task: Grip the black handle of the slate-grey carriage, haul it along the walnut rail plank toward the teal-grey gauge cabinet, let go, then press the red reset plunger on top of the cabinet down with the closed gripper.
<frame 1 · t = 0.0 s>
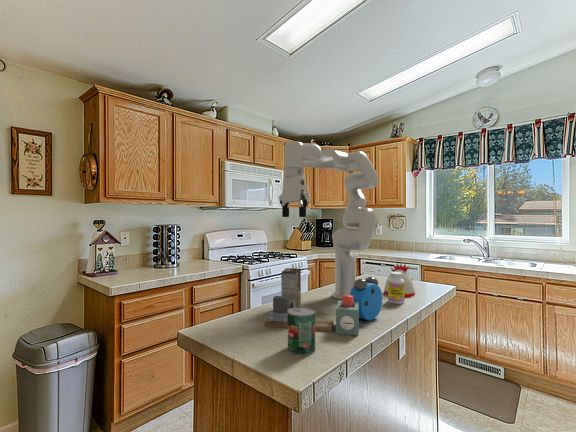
hand: (293, 217, 121), 37 cm above the countertop, tool pointing down, fingers open, 9 cm apart
reset plunger: (347, 303, 103), point 9 cm above the countertop, slide at 0.0 cm
carriage: (281, 307, 108), point 6 cm above the countertop, slide at 0.0 cm
gauge cabinet: (347, 329, 103), on the countertop
alarm clock: (366, 319, 113), on the countertop
coffee box: (291, 310, 124), on the countertop
supplement bottle: (396, 302, 134), on the countertop
rail plank: (299, 324, 107), on the countertop
canned tomato: (301, 350, 87), on the countertop
kitchen timer: (399, 294, 149), on the countertop
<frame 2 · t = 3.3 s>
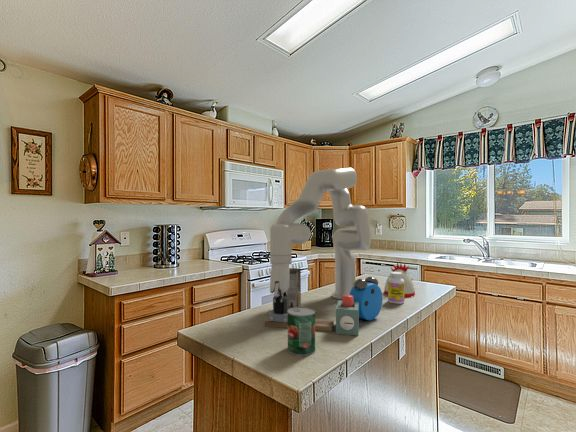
hand: (281, 310, 108), 4 cm above the countertop, tool pointing down, fingers closed on carriage, 4 cm apart
carriage: (281, 307, 108), point 6 cm above the countertop, slide at 0.0 cm, touching gripper
everything else where it was.
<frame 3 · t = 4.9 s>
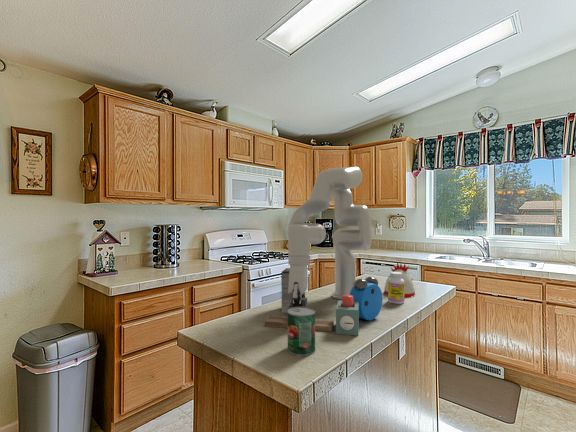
hand: (299, 312, 107), 4 cm above the countertop, tool pointing down, fingers closed on carriage, 4 cm apart
carriage: (299, 309, 107), point 6 cm above the countertop, slide at 6.5 cm, touching gripper
everything else where it was.
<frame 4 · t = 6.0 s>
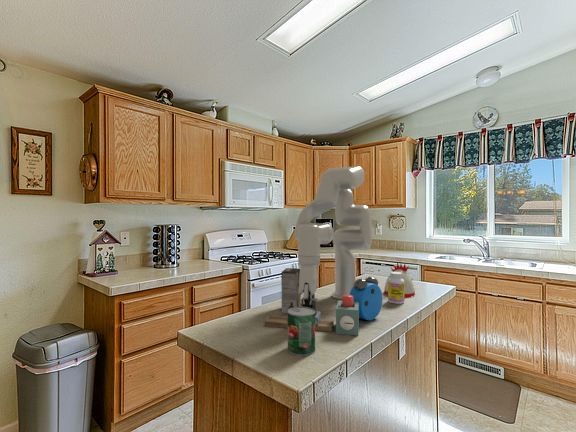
hand: (309, 313, 106), 4 cm above the countertop, tool pointing down, fingers closed on carriage, 4 cm apart
carriage: (309, 309, 106), point 6 cm above the countertop, slide at 10.0 cm, touching gripper
everything else where it was.
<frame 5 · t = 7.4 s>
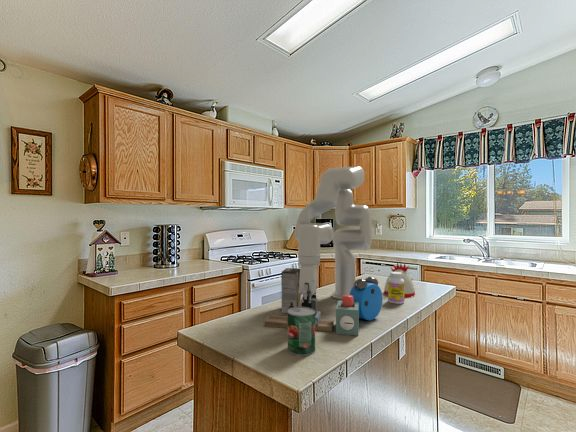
hand: (309, 310, 106), 5 cm above the countertop, tool pointing down, fingers open, 9 cm apart
carriage: (309, 309, 106), point 6 cm above the countertop, slide at 10.0 cm
everything else where it was.
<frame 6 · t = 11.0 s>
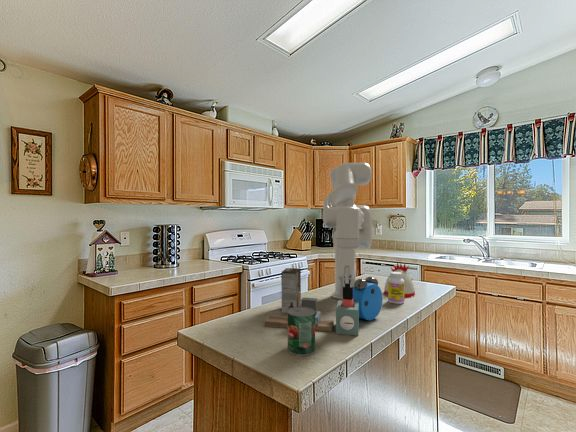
hand: (347, 298, 103), 10 cm above the countertop, tool pointing down, fingers closed
reset plunger: (347, 306, 103), point 8 cm above the countertop, slide at 0.9 cm, touching gripper
everything else where it was.
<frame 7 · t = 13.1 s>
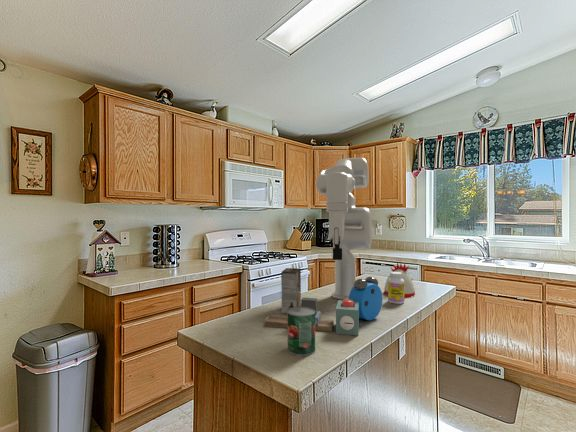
hand: (337, 259, 110), 22 cm above the countertop, tool pointing down, fingers closed
reset plunger: (347, 308, 103), point 7 cm above the countertop, slide at 1.6 cm
everything else where it was.
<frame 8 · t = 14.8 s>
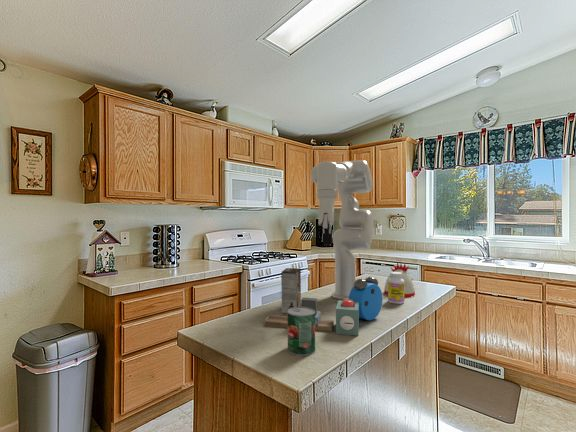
hand: (327, 244, 115), 27 cm above the countertop, tool pointing down, fingers closed
nothing on the countertop moved.
at the end: carriage slide at 10.0 cm; reset plunger slide at 1.6 cm; the gripper is holding nothing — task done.
